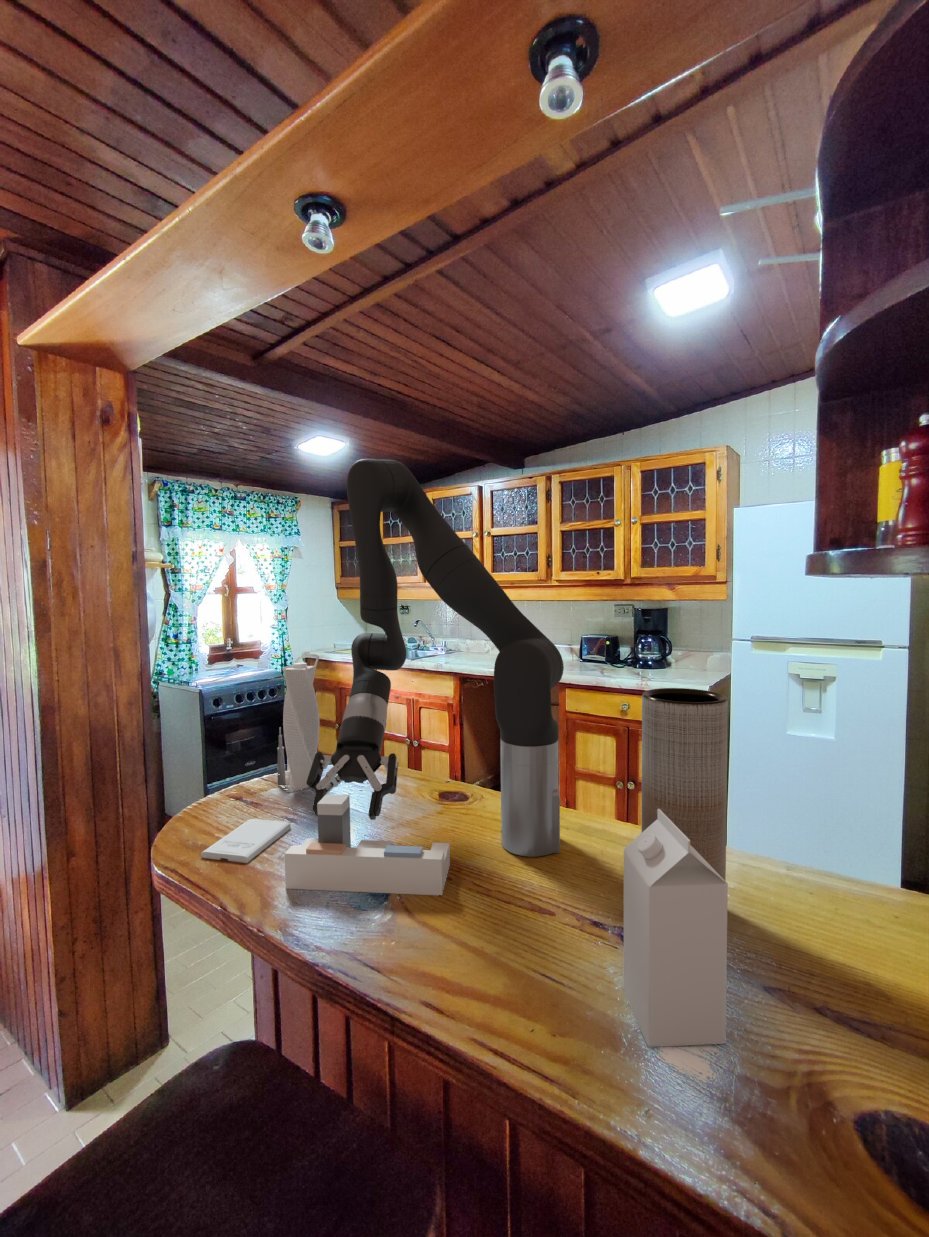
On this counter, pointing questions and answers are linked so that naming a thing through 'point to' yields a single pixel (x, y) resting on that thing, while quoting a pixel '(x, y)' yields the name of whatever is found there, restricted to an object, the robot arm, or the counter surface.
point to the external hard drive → (246, 840)
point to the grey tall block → (334, 819)
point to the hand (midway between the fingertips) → (345, 817)
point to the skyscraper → (299, 725)
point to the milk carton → (674, 939)
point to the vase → (687, 766)
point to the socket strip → (367, 867)
